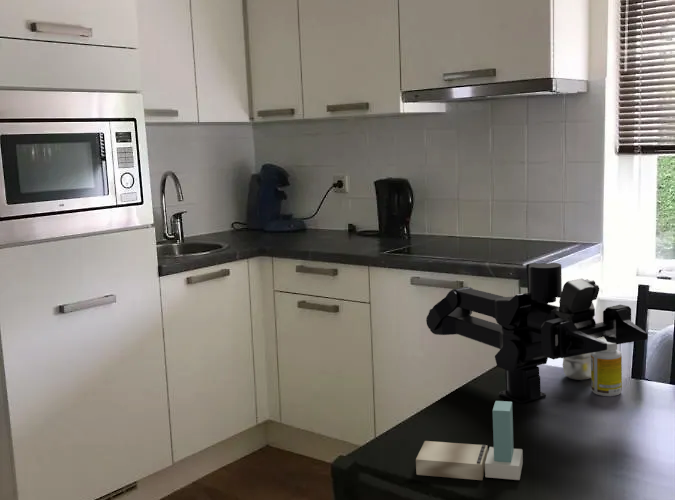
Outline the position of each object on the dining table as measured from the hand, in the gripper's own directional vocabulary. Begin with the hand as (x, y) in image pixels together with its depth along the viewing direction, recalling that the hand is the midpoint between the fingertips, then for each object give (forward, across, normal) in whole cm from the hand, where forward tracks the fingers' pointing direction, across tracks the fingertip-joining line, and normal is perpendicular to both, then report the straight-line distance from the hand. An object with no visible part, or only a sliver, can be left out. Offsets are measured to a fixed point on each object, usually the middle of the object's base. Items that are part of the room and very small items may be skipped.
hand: (627, 341), depth 120 cm
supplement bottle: (-17, +14, +17) cm, 28 cm away
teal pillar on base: (-2, -24, +17) cm, 29 cm away
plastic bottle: (-26, +16, +17) cm, 35 cm away
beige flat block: (-8, -29, +17) cm, 35 cm away
